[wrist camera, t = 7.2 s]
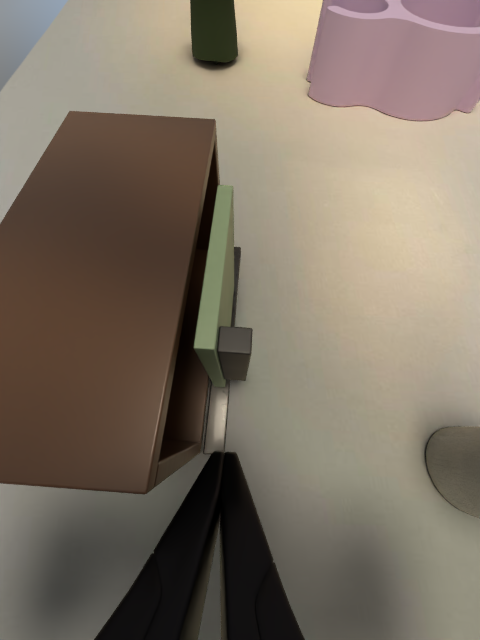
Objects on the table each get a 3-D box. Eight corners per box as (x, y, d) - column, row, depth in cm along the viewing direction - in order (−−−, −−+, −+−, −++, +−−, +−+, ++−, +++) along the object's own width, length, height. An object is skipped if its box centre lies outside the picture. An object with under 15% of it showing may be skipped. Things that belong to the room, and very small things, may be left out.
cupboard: (224, 454, 14) (205, 500, 6) (81, 443, 15) (-154, 472, 6) (240, 251, 21) (244, 120, 12) (140, 244, 21) (69, 110, 12)
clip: (310, 114, 29) (331, 26, 22) (305, 63, 34) (321, -21, 27) (479, 124, 29) (549, 37, 22) (449, 71, 34) (499, -12, 27)
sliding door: (244, 388, 15) (252, 352, 8) (214, 386, 15) (192, 348, 8) (250, 285, 18) (260, 186, 11) (225, 284, 18) (217, 184, 11)
